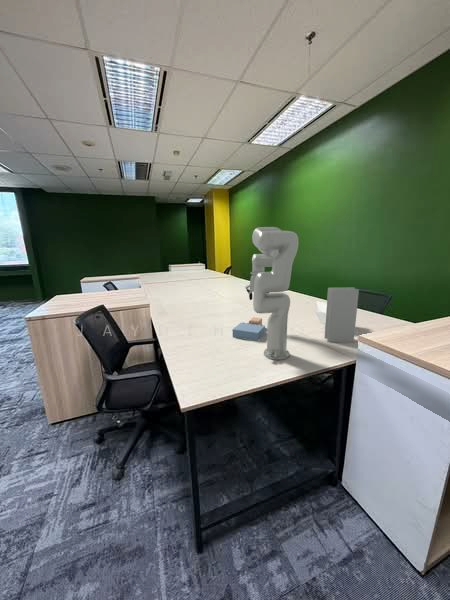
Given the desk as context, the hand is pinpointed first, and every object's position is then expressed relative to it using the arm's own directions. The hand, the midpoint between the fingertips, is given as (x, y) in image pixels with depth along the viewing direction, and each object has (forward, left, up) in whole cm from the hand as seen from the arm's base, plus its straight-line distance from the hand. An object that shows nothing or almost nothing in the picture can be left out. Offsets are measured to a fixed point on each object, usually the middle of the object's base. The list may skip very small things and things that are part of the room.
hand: (258, 300), depth 156 cm
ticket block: (-14, +1, -19) cm, 23 cm away
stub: (-1, +1, -19) cm, 19 cm away
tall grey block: (-2, -49, -19) cm, 52 cm away
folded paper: (+23, -43, -19) cm, 52 cm away
